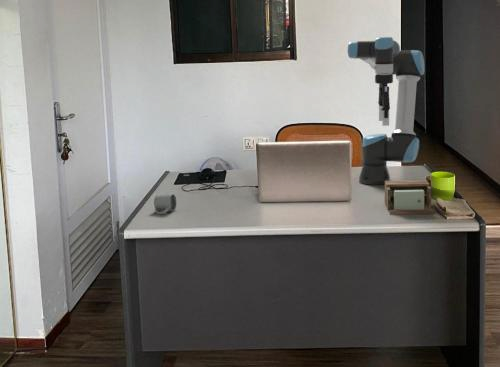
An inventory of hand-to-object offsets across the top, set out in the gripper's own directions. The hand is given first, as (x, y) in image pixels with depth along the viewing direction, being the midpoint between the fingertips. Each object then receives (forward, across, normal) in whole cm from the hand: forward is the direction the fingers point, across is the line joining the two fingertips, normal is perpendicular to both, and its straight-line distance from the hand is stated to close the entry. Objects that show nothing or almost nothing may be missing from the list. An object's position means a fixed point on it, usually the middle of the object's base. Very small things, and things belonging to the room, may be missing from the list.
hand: (383, 123), depth 334 cm
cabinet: (+35, +14, +9) cm, 38 cm away
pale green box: (+35, +20, +8) cm, 41 cm away
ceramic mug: (+35, +11, -96) cm, 103 cm away
